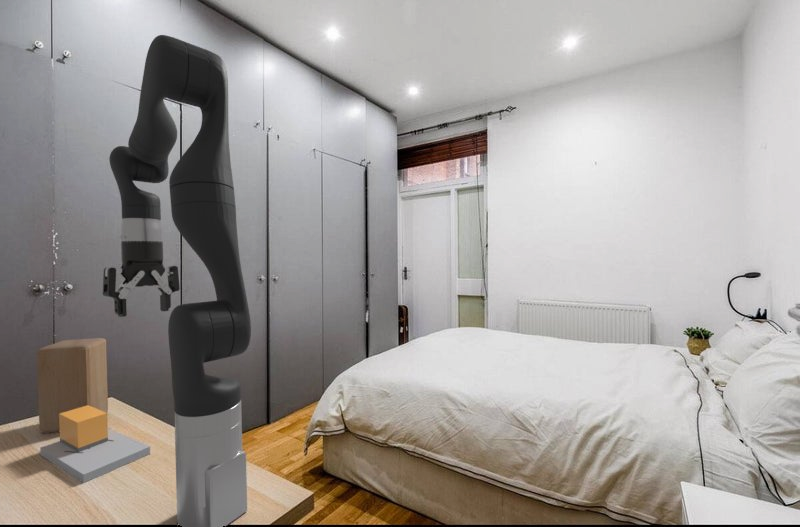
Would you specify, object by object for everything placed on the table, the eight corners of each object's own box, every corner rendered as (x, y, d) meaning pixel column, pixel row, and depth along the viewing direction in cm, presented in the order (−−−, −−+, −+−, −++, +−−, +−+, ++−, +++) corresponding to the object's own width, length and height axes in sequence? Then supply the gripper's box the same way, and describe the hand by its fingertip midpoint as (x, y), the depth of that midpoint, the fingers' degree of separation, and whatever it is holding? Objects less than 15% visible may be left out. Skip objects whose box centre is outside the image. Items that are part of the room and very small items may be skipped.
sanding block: (107, 441, 78) (107, 413, 78) (78, 452, 74) (77, 422, 73) (88, 431, 82) (88, 405, 82) (60, 441, 78) (59, 413, 78)
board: (150, 453, 75) (150, 446, 75) (83, 482, 66) (83, 474, 66) (104, 432, 85) (103, 425, 85) (40, 454, 76) (40, 447, 76)
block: (37, 435, 84) (34, 349, 84) (64, 417, 94) (61, 339, 93) (89, 429, 87) (86, 345, 86) (110, 412, 96) (107, 336, 96)
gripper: (112, 238, 73) (115, 319, 73) (184, 240, 85) (186, 310, 85) (95, 239, 76) (97, 317, 77) (166, 241, 89) (168, 308, 89)
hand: (144, 313), depth 81 cm, fingers open, 8 cm apart
